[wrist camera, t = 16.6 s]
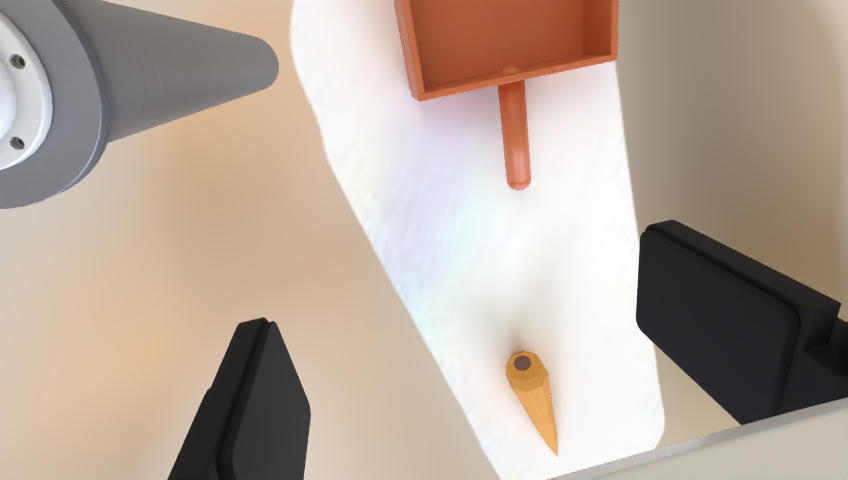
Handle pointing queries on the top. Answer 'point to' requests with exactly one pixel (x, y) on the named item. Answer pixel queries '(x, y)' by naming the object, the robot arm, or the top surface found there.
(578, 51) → the dustpan
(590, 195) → the top surface
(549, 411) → the carrot
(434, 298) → the top surface
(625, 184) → the top surface
